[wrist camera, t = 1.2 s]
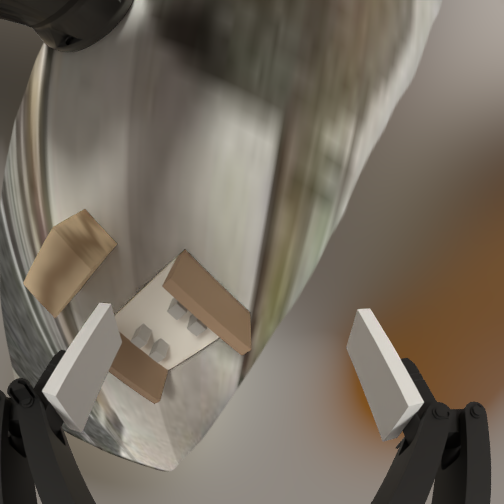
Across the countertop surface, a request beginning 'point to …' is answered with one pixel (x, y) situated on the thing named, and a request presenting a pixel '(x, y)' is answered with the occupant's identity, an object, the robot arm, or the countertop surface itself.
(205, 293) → the peg stand
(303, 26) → the countertop surface
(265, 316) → the countertop surface
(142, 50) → the countertop surface
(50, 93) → the countertop surface
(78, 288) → the shelf block
